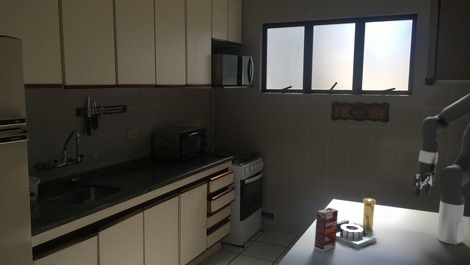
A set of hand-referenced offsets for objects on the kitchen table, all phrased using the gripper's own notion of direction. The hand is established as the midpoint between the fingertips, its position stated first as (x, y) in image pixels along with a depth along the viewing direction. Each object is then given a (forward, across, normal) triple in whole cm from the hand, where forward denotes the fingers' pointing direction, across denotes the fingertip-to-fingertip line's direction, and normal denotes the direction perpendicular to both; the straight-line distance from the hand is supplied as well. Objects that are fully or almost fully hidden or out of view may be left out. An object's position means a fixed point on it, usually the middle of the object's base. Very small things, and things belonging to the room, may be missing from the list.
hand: (422, 194), depth 186 cm
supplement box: (+18, -52, +10) cm, 56 cm away
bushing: (+18, -19, +14) cm, 30 cm away
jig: (+18, -35, +10) cm, 41 cm away
